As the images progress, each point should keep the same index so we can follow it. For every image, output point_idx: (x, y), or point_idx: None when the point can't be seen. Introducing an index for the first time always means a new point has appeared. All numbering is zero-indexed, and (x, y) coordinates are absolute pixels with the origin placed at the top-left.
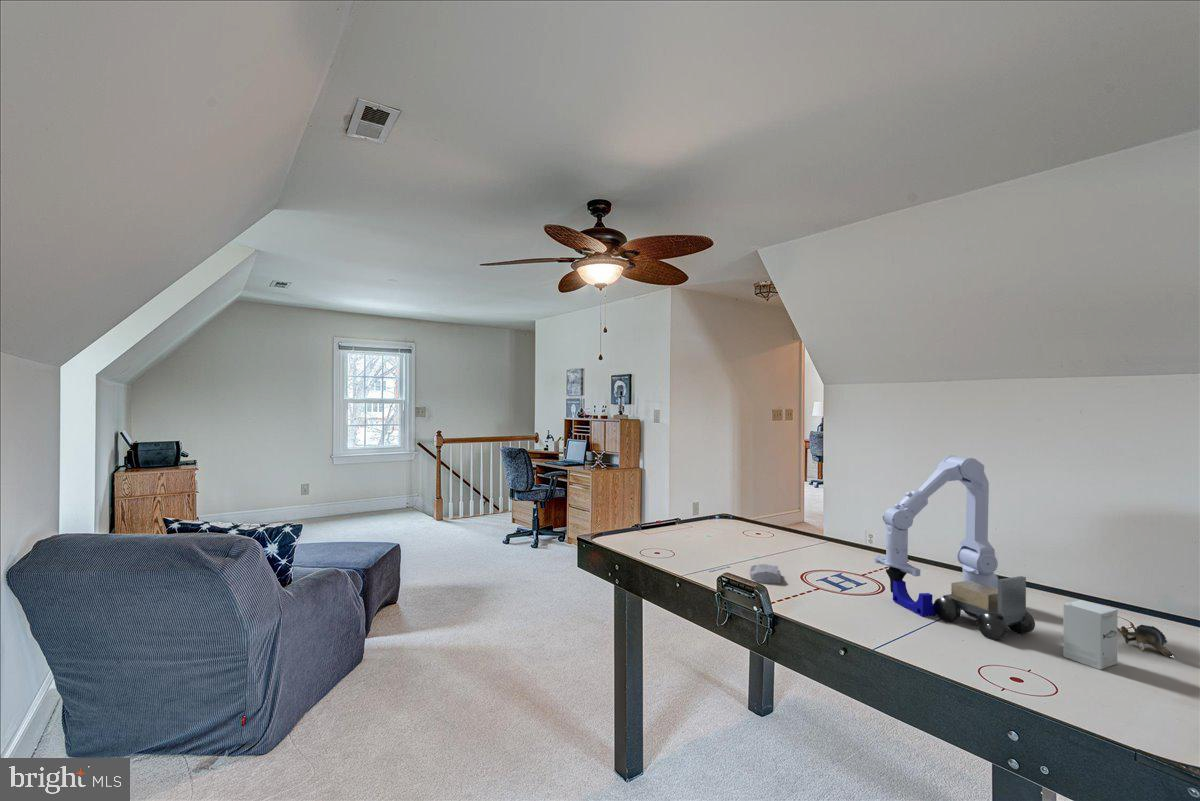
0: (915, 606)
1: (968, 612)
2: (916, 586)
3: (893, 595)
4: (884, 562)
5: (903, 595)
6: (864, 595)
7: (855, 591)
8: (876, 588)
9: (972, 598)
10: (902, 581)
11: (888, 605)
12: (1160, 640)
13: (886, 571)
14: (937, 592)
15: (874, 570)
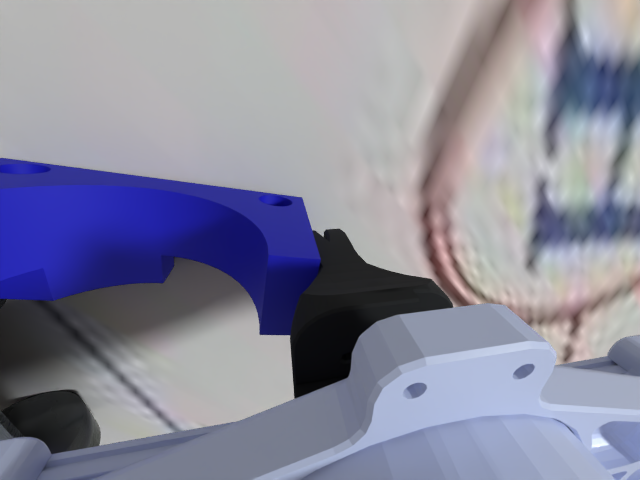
0: (47, 178)
1: (54, 402)
2: None
3: (297, 207)
4: (569, 384)
5: (226, 233)
6: (439, 107)
7: (506, 111)
8: (465, 261)
9: None
10: (275, 318)
11: (248, 107)
12: None
13: (423, 280)
14: None
15: None
